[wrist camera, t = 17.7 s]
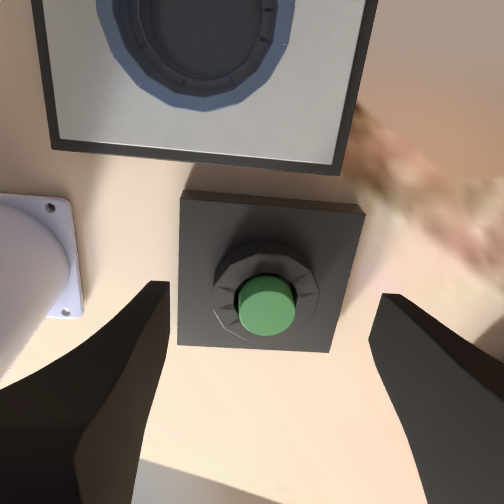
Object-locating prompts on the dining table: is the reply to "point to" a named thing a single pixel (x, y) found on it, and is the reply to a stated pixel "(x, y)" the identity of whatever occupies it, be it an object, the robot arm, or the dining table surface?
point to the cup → (197, 47)
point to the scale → (216, 122)
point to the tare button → (266, 305)
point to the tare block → (262, 266)
